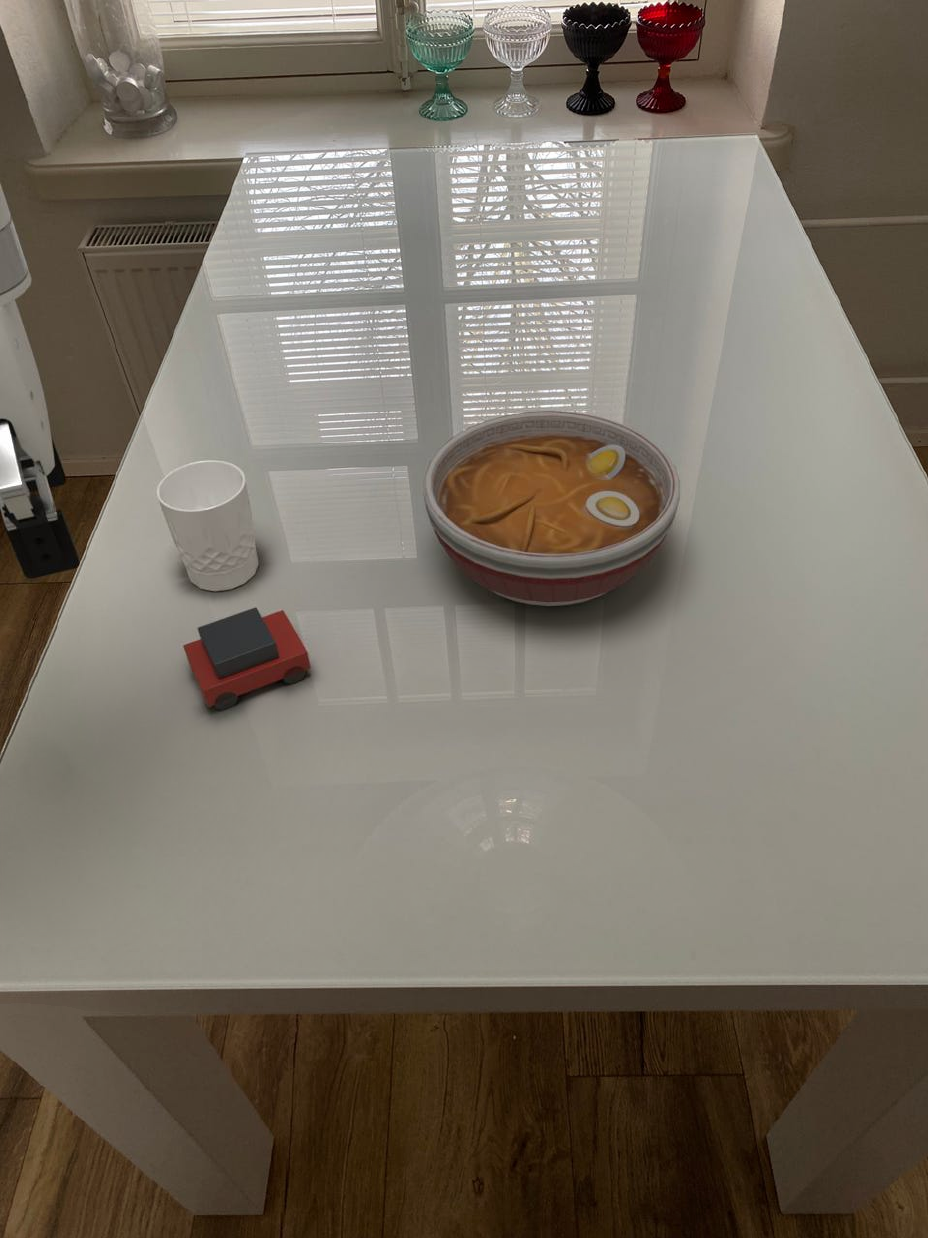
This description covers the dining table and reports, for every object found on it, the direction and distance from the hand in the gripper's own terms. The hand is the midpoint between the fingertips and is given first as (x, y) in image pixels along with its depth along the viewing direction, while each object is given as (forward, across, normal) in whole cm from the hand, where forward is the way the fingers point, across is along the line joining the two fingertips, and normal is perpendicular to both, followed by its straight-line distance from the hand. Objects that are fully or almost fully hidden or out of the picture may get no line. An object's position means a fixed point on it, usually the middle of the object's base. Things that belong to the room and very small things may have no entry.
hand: (48, 526), depth 62 cm
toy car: (+20, -2, +11) cm, 22 cm away
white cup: (+22, -20, +11) cm, 31 cm away
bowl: (+22, -8, +40) cm, 46 cm away
